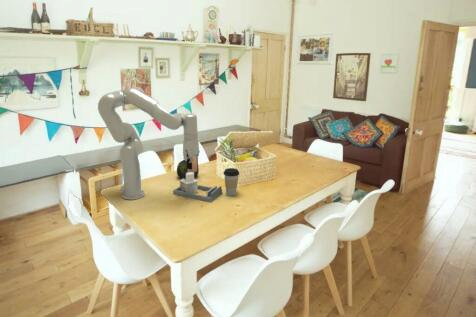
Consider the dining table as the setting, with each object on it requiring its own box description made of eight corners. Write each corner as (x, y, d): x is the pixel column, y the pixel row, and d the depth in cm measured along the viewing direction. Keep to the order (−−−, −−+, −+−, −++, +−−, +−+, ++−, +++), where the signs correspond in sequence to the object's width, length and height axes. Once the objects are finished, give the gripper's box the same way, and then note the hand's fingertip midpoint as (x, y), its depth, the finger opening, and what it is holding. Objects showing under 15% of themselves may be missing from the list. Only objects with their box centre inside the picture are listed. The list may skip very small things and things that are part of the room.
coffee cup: (229, 198, 187) (229, 174, 183) (220, 192, 194) (220, 169, 190) (242, 194, 192) (242, 171, 188) (232, 189, 200) (233, 166, 195)
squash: (169, 169, 216) (179, 156, 208) (185, 164, 228) (195, 152, 220) (180, 186, 213) (191, 173, 204) (196, 180, 225) (207, 168, 216)
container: (180, 191, 195) (179, 171, 191) (190, 188, 200) (190, 168, 196) (187, 195, 189) (186, 175, 186) (197, 192, 194) (197, 172, 190)
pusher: (206, 200, 184) (206, 192, 182) (215, 193, 194) (215, 185, 192) (208, 200, 184) (208, 192, 182) (216, 193, 193) (217, 185, 192)
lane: (173, 194, 191) (172, 186, 189) (186, 186, 203) (185, 178, 202) (211, 202, 181) (211, 194, 180) (222, 193, 193) (222, 185, 192)
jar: (185, 171, 182) (184, 156, 179) (190, 168, 187) (190, 154, 184) (193, 173, 180) (193, 158, 177) (199, 169, 184) (198, 155, 182)
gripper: (193, 132, 186) (194, 162, 191) (176, 139, 171) (178, 171, 177) (204, 133, 183) (205, 163, 188) (187, 140, 168) (189, 173, 174)
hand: (192, 167), depth 182 cm, fingers closed on jar, 5 cm apart
